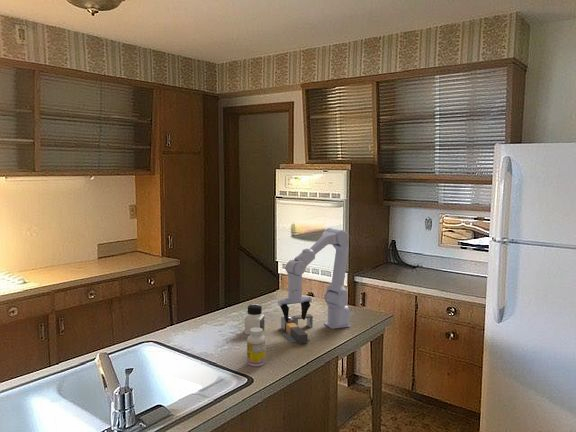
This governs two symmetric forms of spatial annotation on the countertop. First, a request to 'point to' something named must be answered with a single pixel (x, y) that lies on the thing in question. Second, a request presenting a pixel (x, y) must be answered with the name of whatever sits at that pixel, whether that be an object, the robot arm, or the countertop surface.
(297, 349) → the countertop surface
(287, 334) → the mat
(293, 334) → the plug
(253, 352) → the supplement bottle
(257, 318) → the medicine bottle
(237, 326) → the countertop surface
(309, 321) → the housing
